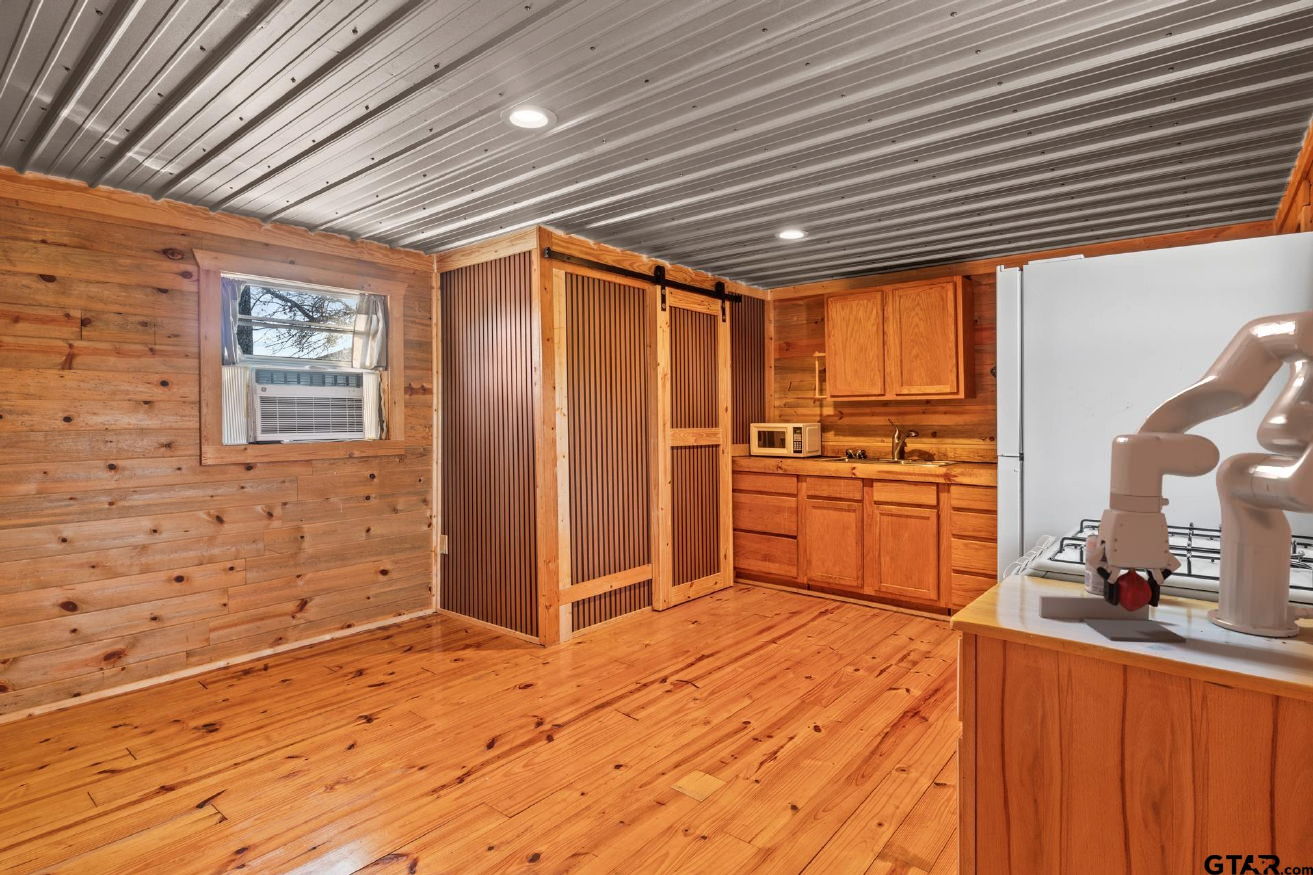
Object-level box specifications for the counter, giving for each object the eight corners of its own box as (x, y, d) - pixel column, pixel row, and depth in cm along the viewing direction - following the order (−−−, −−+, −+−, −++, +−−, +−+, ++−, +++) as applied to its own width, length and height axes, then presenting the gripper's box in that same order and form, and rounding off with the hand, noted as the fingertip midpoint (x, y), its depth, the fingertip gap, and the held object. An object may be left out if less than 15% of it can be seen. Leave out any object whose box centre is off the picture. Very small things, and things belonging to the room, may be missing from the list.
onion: (1157, 618, 116) (1159, 572, 116) (1120, 615, 118) (1122, 571, 117) (1140, 607, 122) (1142, 564, 122) (1105, 605, 123) (1106, 563, 123)
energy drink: (1113, 590, 145) (1115, 536, 144) (1115, 597, 140) (1116, 540, 140) (1084, 587, 148) (1085, 533, 147) (1084, 593, 143) (1086, 538, 142)
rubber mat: (1150, 622, 124) (1150, 619, 124) (1186, 642, 114) (1186, 639, 114) (1081, 621, 126) (1081, 617, 126) (1110, 640, 116) (1110, 636, 116)
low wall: (1145, 618, 127) (1146, 597, 126) (1148, 620, 126) (1149, 599, 125) (1038, 615, 129) (1039, 595, 129) (1041, 617, 128) (1041, 596, 128)
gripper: (1174, 501, 121) (1169, 599, 122) (1072, 500, 124) (1069, 596, 125) (1202, 508, 114) (1197, 612, 115) (1094, 506, 116) (1090, 608, 117)
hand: (1130, 603), depth 120 cm, fingers closed on onion, 5 cm apart
